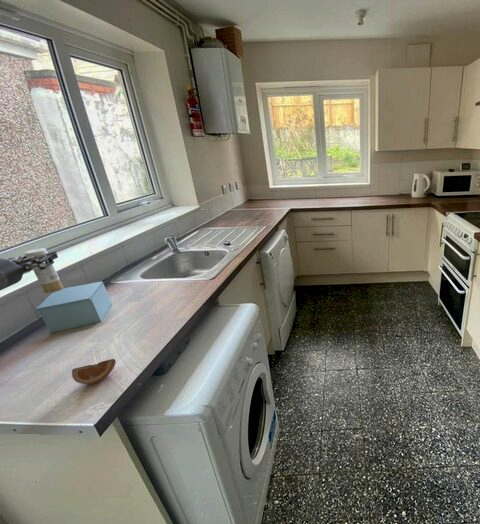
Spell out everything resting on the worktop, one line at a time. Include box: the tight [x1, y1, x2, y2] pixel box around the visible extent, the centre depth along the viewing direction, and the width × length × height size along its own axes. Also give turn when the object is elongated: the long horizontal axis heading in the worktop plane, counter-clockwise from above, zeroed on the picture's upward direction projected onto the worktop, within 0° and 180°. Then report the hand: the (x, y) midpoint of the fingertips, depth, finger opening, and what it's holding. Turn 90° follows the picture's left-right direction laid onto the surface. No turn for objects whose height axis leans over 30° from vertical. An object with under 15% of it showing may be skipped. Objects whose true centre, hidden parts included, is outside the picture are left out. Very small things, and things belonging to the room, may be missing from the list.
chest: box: [38, 283, 112, 334], centre depth 101 cm, size 14×14×9 cm
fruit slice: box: [71, 358, 117, 385], centre depth 73 cm, size 8×7×5 cm
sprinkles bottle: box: [24, 247, 65, 294], centre depth 87 cm, size 5×5×14 cm
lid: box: [35, 281, 104, 312], centre depth 99 cm, size 14×14×1 cm
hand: (46, 255), depth 88 cm, fingers closed on sprinkles bottle, 4 cm apart
